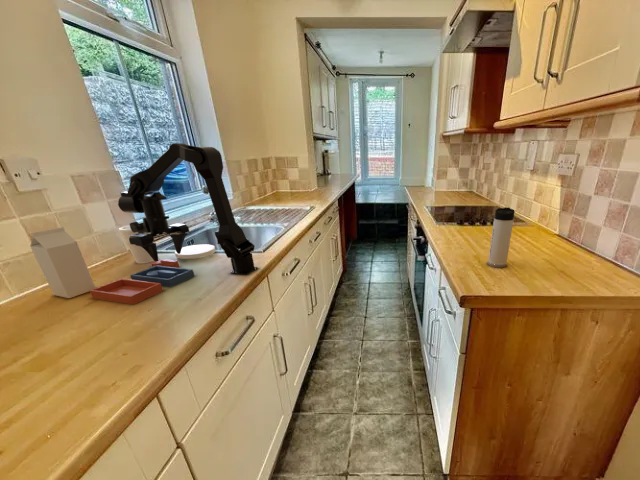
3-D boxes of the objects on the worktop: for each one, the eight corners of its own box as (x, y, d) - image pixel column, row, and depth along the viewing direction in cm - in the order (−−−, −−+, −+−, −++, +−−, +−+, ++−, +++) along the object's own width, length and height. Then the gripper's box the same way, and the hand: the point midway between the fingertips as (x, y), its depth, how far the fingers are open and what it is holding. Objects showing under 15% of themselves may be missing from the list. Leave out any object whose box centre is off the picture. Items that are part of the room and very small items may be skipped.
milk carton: (96, 289, 97) (71, 228, 89) (69, 299, 91) (39, 234, 83) (81, 286, 99) (55, 226, 91) (53, 295, 93) (23, 232, 85)
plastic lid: (182, 251, 131) (181, 245, 130) (219, 248, 134) (218, 243, 133) (171, 262, 119) (169, 256, 118) (211, 259, 122) (210, 253, 121)
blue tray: (194, 276, 106) (192, 269, 105) (170, 287, 98) (168, 279, 97) (158, 272, 110) (156, 265, 109) (132, 282, 102) (129, 275, 101)
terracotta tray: (163, 290, 96) (160, 283, 95) (133, 304, 88) (130, 296, 87) (124, 285, 100) (121, 278, 99) (92, 298, 91) (89, 290, 90)
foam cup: (129, 266, 115) (116, 231, 110) (132, 259, 123) (121, 225, 117) (160, 261, 120) (149, 227, 114) (161, 255, 127) (151, 222, 122)
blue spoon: (182, 276, 105) (180, 270, 104) (170, 282, 101) (168, 275, 100) (157, 273, 107) (155, 267, 106) (144, 278, 103) (142, 272, 102)
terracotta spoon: (183, 265, 116) (181, 259, 115) (172, 269, 112) (170, 263, 111) (160, 262, 119) (158, 256, 118) (148, 267, 115) (146, 260, 114)
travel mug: (508, 263, 116) (517, 208, 108) (503, 269, 111) (512, 211, 103) (490, 260, 119) (498, 206, 111) (485, 265, 114) (493, 209, 106)
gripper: (160, 207, 117) (172, 248, 124) (108, 217, 101) (125, 264, 107) (184, 208, 114) (195, 250, 121) (135, 219, 98) (151, 267, 104)
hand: (168, 257), depth 113 cm, fingers open, 9 cm apart
